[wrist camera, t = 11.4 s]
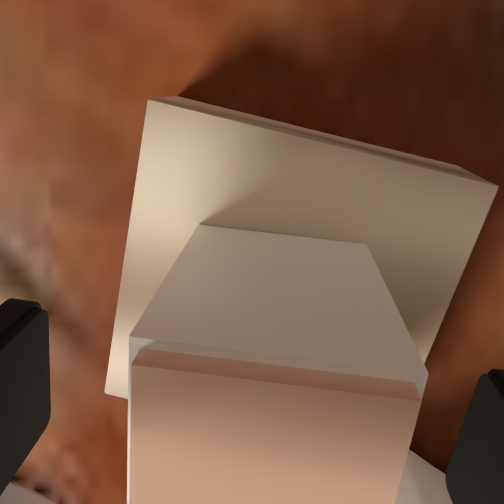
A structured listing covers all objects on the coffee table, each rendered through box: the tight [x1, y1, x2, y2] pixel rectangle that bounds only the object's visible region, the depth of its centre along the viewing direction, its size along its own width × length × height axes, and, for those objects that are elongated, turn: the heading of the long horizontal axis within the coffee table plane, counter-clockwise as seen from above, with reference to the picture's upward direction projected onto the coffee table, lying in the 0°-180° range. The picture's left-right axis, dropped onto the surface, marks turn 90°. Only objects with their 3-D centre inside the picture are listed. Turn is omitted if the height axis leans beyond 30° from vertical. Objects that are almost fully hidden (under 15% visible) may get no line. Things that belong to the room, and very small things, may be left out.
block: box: [104, 96, 499, 399], centre depth 17 cm, size 10×10×4 cm
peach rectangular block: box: [127, 224, 429, 504], centre depth 12 cm, size 5×5×7 cm
